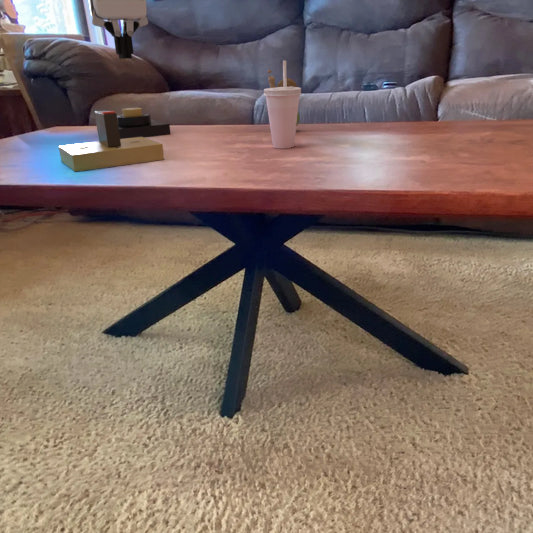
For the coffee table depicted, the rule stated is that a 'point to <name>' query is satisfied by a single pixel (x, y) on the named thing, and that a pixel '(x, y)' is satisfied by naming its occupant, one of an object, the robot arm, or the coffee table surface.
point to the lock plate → (110, 154)
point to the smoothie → (283, 112)
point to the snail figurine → (289, 84)
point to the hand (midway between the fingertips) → (125, 58)
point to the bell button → (132, 112)
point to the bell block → (141, 127)
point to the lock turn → (107, 128)
